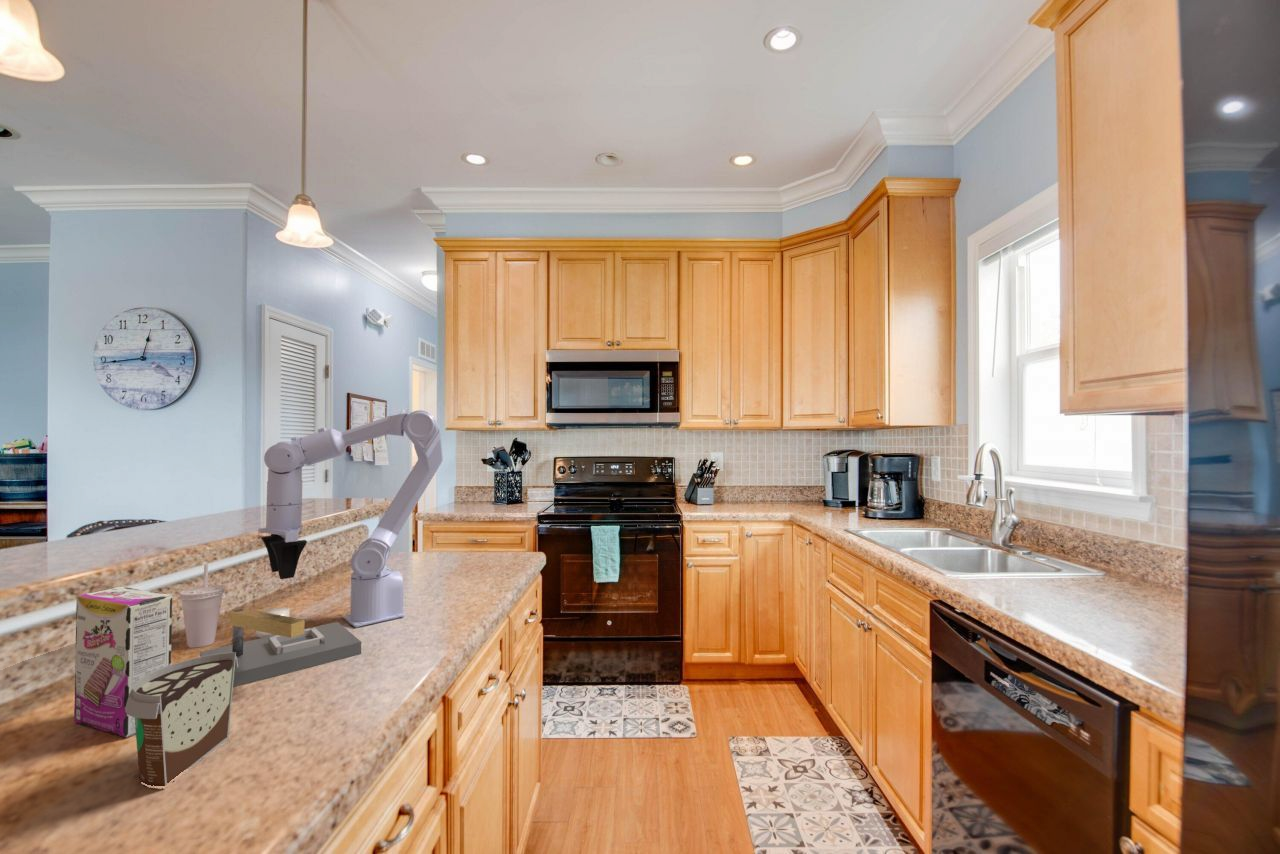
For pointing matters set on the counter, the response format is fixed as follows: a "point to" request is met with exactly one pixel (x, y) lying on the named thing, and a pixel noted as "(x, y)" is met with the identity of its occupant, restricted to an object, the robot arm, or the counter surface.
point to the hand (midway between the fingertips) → (282, 574)
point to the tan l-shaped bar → (262, 626)
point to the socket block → (291, 652)
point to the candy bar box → (117, 652)
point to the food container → (181, 714)
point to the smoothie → (201, 612)
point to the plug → (278, 611)
